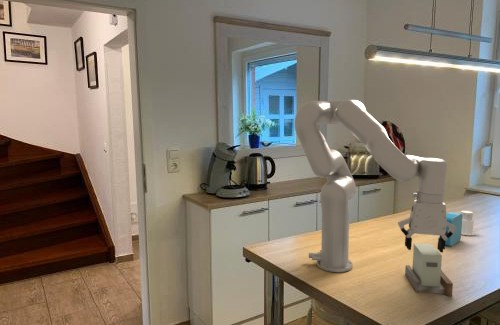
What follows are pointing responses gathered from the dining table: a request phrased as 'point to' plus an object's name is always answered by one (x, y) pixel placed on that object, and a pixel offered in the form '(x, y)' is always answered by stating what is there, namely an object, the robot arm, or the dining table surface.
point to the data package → (457, 222)
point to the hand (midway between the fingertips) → (424, 249)
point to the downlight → (467, 223)
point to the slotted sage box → (427, 264)
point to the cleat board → (444, 287)
